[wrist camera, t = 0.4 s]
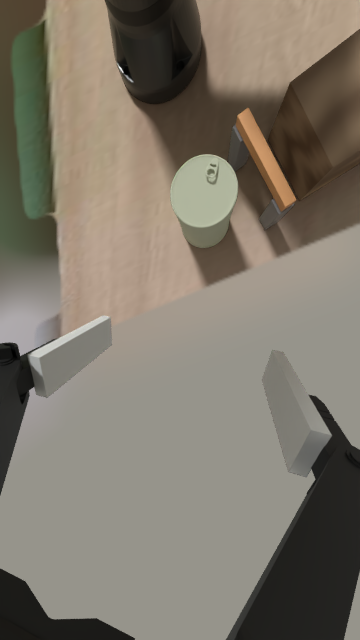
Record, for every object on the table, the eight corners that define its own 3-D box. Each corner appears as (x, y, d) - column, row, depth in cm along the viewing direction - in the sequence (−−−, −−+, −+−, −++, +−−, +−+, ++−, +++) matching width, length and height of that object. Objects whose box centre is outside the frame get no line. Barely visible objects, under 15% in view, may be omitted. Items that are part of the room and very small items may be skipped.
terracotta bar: (235, 125, 27) (237, 115, 25) (245, 118, 26) (248, 107, 25) (280, 211, 27) (285, 206, 26) (291, 205, 27) (296, 199, 26)
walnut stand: (267, 139, 32) (290, 82, 23) (338, 89, 30) (392, 4, 21) (299, 200, 33) (333, 167, 24) (370, 156, 30) (437, 101, 22)
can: (237, 207, 35) (251, 163, 23) (217, 254, 36) (221, 237, 25) (191, 191, 35) (183, 141, 24) (174, 238, 37) (159, 214, 25)
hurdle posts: (227, 160, 34) (232, 126, 27) (239, 151, 33) (247, 114, 26) (265, 230, 34) (279, 214, 28) (277, 222, 34) (294, 204, 27)
